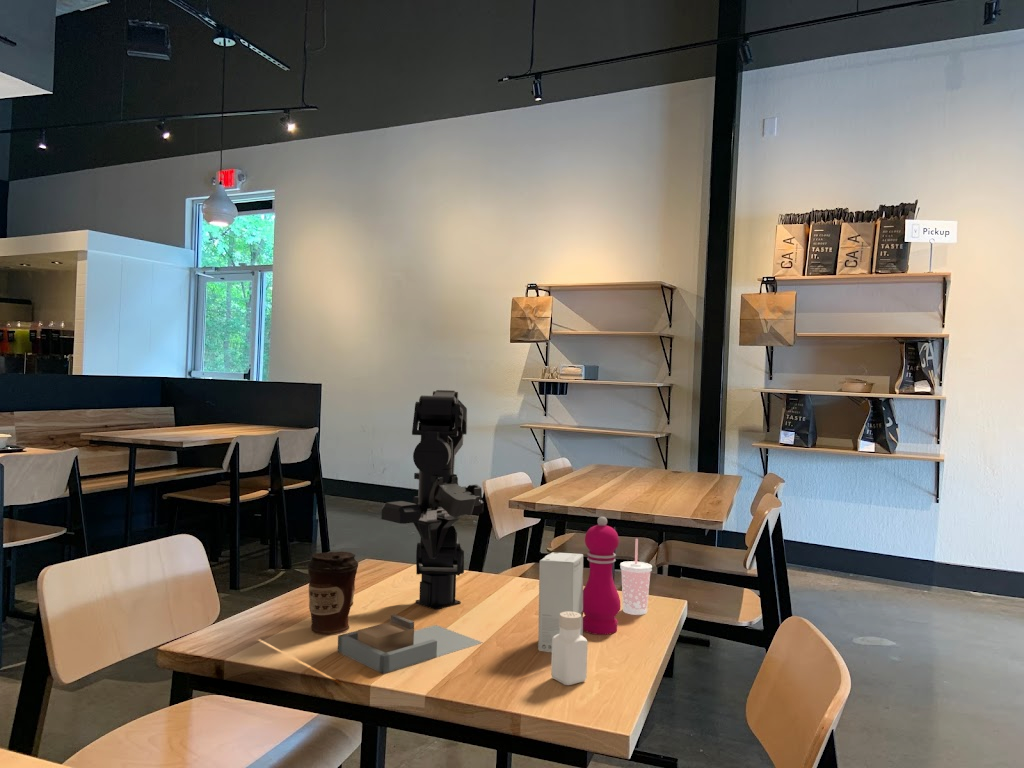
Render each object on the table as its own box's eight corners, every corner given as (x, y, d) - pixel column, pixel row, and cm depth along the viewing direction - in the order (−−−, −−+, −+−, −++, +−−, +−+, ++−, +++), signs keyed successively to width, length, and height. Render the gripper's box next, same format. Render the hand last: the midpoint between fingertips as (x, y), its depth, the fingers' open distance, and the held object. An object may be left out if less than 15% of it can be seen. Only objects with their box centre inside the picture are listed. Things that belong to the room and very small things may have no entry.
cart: (393, 645, 117) (394, 614, 117) (413, 654, 113) (414, 622, 113) (356, 655, 112) (357, 623, 112) (376, 665, 108) (377, 631, 108)
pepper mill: (623, 625, 131) (626, 515, 132) (615, 638, 125) (618, 521, 125) (584, 620, 134) (587, 512, 134) (574, 632, 127) (577, 517, 127)
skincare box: (572, 657, 115) (575, 563, 115) (535, 652, 117) (538, 559, 117) (583, 640, 123) (585, 552, 123) (548, 636, 125) (551, 549, 125)
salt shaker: (588, 681, 105) (589, 616, 105) (566, 687, 103) (568, 620, 103) (570, 672, 108) (572, 608, 109) (549, 678, 106) (551, 612, 106)
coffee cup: (342, 641, 119) (344, 562, 119) (295, 636, 120) (298, 558, 121) (363, 625, 127) (365, 551, 128) (319, 621, 129) (321, 547, 129)
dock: (435, 626, 128) (436, 610, 128) (483, 644, 120) (483, 627, 120) (337, 653, 113) (338, 635, 113) (383, 675, 105) (384, 656, 105)
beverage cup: (644, 618, 136) (646, 543, 137) (614, 612, 139) (616, 539, 140) (655, 610, 142) (657, 538, 142) (625, 604, 145) (627, 534, 145)
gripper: (423, 475, 114) (420, 575, 114) (506, 469, 127) (503, 558, 127) (380, 469, 121) (378, 562, 121) (463, 463, 135) (461, 548, 135)
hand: (433, 558), depth 126 cm, fingers closed
